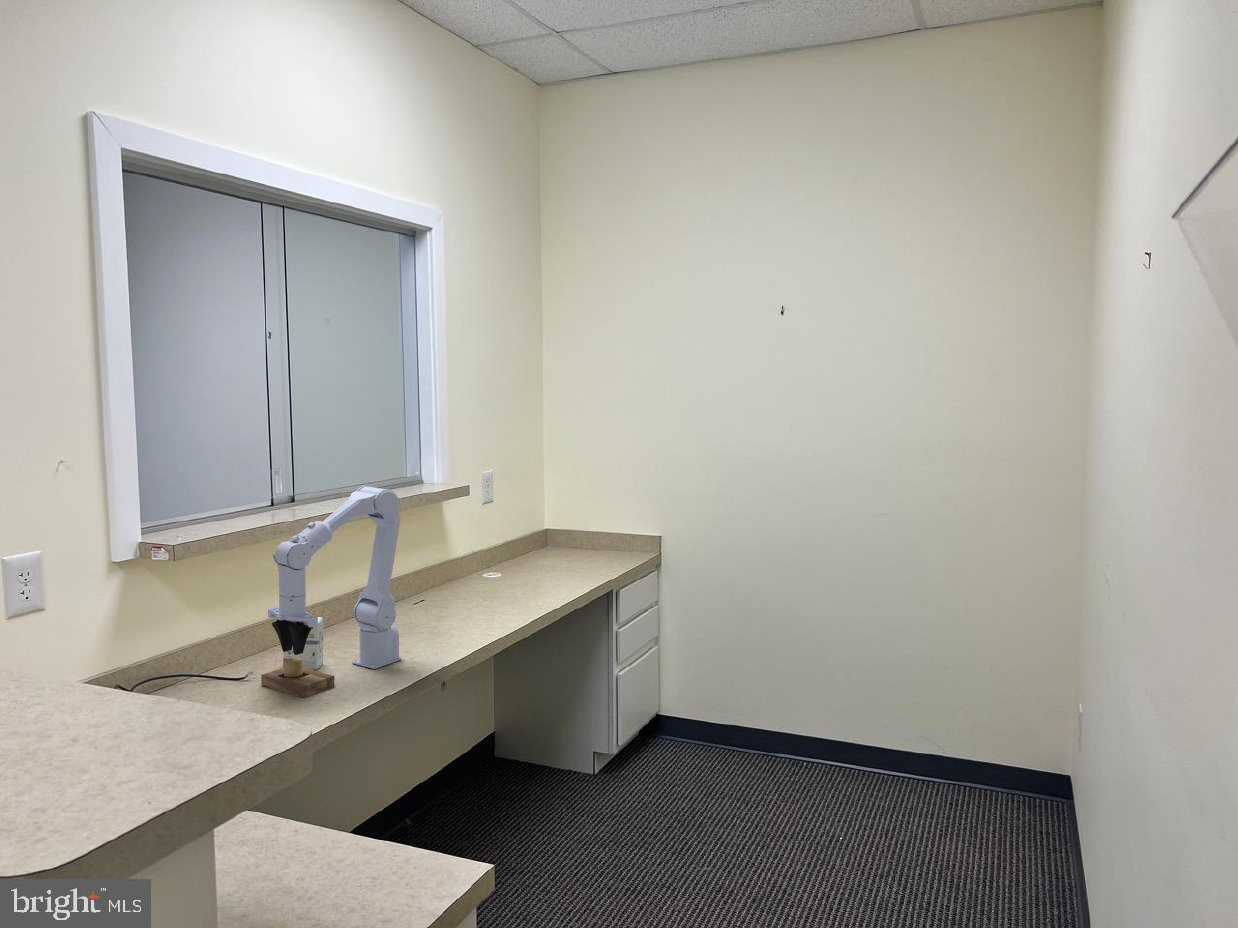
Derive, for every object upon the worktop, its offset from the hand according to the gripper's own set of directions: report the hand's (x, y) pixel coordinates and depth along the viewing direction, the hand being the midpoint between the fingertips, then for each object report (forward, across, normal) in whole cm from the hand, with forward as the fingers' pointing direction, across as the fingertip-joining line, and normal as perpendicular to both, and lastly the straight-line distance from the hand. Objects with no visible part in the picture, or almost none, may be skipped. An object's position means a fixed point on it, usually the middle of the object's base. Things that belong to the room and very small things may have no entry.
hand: (292, 652), depth 211 cm
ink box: (+8, -9, +10) cm, 16 cm away
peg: (+8, 0, 0) cm, 8 cm away
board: (+8, +1, 0) cm, 8 cm away
